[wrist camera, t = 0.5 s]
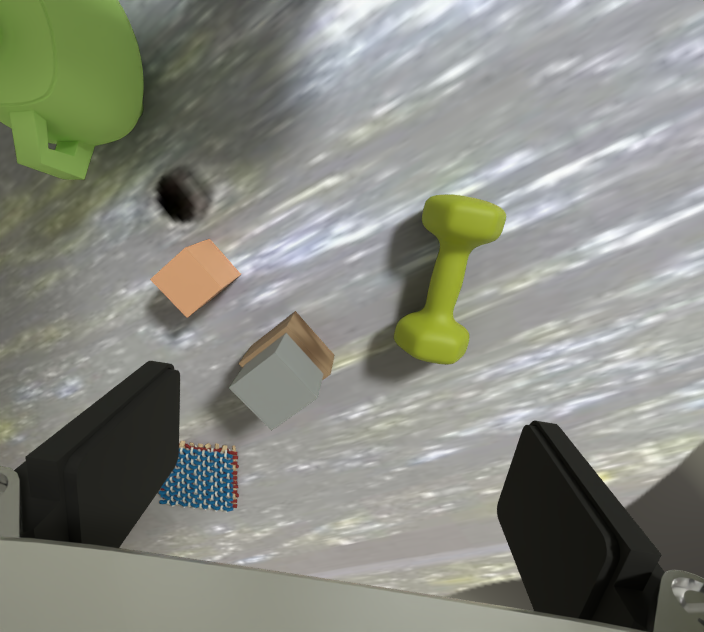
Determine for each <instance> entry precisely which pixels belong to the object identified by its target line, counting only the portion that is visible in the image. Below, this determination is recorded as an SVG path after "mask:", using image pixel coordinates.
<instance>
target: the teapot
mask: <svg viewBox="0 0 704 632" xmlns="http://www.w3.org/2000/svg"><path fill="white" fill-rule="evenodd" d="M143 85H144V82H143V68H142V61H141V56H140V52H139V47H138V44H137V41H136V38H135V34H134V32H133V29H132V27H131V24H130V22H129V20H128V18H127V16H126V14H125V12H124V10H123V8H122V6H121V5H120V3H119V1H118V0H0V122H2V123H3V124H5V125H6V126H8V127H10V128H11V129H12V133H13V139H14V146H15V152H16V158H17V163H18V164H21V165H24V166H27V167H30V168H32V169H35V170H38V171H41V172H44V173H47V174H50V175H52V176H55V177H58V178H61V179H74V180H85V176H86V173H87V170H88V167H89V163H90V160H91V157H92V154H93V151H94V147H95V146H97V145H102V144H106V143H110V142H113V141H116V140H119V139H121V138H123V137H124V136H126V135H127V134H128V133H129V132H131V131H132V129H133V128H134V126H135V125H136V123H137V121H138V118H140V116H141V115H142V113H143V104H142V101H143ZM48 143H52V144H57V145H56V148H55V150H52V149H48Z"/></svg>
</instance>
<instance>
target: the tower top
mask: <svg viewBox="0 0 704 632" xmlns="http://www.w3.org/2000/svg"><path fill="white" fill-rule="evenodd" d="M322 378H323V373H322V372H321V370H320V369H319V368H318V367H317V366H316V365H315V364H314V363H313V362H312V361H311V359H310V358H309V357H308V356H307V355H306V354H305V353H304V352H303V351H302V350H301V348H300V347H299V346H298V345H297V344H296V343H295V342H294V341H293V340H292V339H291V337H290V336H289V335H288V334H287V333H285V334H284V335H282V336H281V337H280V338H278V339H277V340H276V341H275V342H273V343H272V344H271V345H269V346H268V347H267V348H266V349H264V350H263V351H262V352H260V353H259V354H258V355H257V356H255V357H254V358H253V359H251V360H250V361H249V362H248V363H246V364H245V365H244V367H243V368H242V369H241V371H240V372H239V374H238V375H237V377H236V378H235V380H234V381H233V383H232V384H231V386H230V387H229V389H230V390H231V391H232V392H233V393H234V394H235V395H236V396H237V397H238V398H239V399H240V400H241V401H242V402H243V403H244V404H245V405H246V406H247V407H248V408H249V409H250V410H251V411H252V412H253V413H254V414H255V415H256V416H257V417H258V418H259V419H260V420H261V421H262V422H263V423H264V424H265V425H266V426H267V427H268V428H269V429H270V430H271V431H272V430H273V429H275V428H276V427H278V426H279V425H280V424H282V423H283V422H285V421H286V420H288V419H289V418H290V417H292V416H293V415H295V414H296V413H297V412H299V411H300V410H302V409H303V408H305V407H306V406H307V405H309V404H310V403H312V402H313V401H314V400H316V399H317V398H318V395H319V390H320V386H321V382H322Z"/></svg>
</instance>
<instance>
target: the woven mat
mask: <svg viewBox="0 0 704 632" xmlns="http://www.w3.org/2000/svg"><path fill="white" fill-rule="evenodd" d="M205 447H206V448H203V445H202V444H198V446H196V445H195V447H194V443H190V446H189V445H188V444H185V441H181V442H180V444H179V457H178V461H177V464H176V466H175V468H174V470H173V471H172V472H171V474H170V475H169V477H168V478H167V480H166V481H165V482H164V484H163V485H162V487H161V490H165V491H159V494H161V497H163V499H164V498H165V499H166V500H160V501H159V503H160V504H166V503H167V504H168V505H170V504H171V506H172V507H174V505H177V506H179V505H178V504H180V505H182V506H183V507H184V508H185V507H186V506H188V507H189V508H190V507H191V506H192V507H193V509H195V508H197V507H199V508H201V509H202V508H203V509H204V510H205V511H206V509H207V508H209V510H211V508H213V509H215V510H216V511H215V512H217V511H218V510H219V509H220V510H221V511H223V510H225V512H228V511H232V510H233V508H237V504H236V503H237V499H236V497H237V498H238V497H239V494H238V493H237V490H236V488H238V485H236V484H237V481H236V480H237V476H236V475H237V471H236V468H238V467H239V465H237V462H236V459H238V456H236V455H237V452H236V448H235V446H232V450H230V449H227V446H225V445H223V446H222V448H219V444H215V449H213V448H211V445H210V444H209V443H208V444H206V445H205ZM219 452H220V453H221V454H220V453H219ZM194 454H195V455H194ZM220 462H221V464H220ZM173 472H174V473H173ZM180 477H181V478H180ZM220 482H221V483H220ZM206 485H207V486H206ZM230 488H231V489H230ZM173 490H174V491H173ZM213 490H214V491H213ZM181 491H182V492H181ZM176 496H177V497H176ZM199 499H200V500H199ZM174 500H175V501H174ZM220 501H221V502H220ZM230 502H231V503H230ZM196 503H197V504H196ZM215 505H216V506H215Z"/></svg>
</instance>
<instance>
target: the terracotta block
mask: <svg viewBox="0 0 704 632" xmlns="http://www.w3.org/2000/svg"><path fill="white" fill-rule="evenodd" d="M240 275H241V274H240V273H239V271H238V270H237V269H236V268H235V267H234V266H233V265H232V264H231V262H230V261H229V260H228V259H227V258H226V257H225V256H224V255H223V253H222V252H221V251H220V250H219V249H218V248H217V247H216V246H215V244H214V243H213V242H212V241H211V240H210V239H208V240H205V241H202V242H199V243H197V244H194V245H191V246H188V247H186V248H184V249H183V250H182V251H181V252H180V253H179V254H178V255H177V256H175V257H174V258H173V259H172V260H171V261H170V262H169V263H168V264H167V265H166V266H164V267H163V268H162V269H161V270H160V271H159V272H158V273H157V274H156V275H155V276H153V277H152V278H151V279H150V280H151V281H152V282H153V283H154V284H155V285H156V286H157V287H158V288H159V289H160V290H161V291H162V292H163V293H164V294H165V295H166V296H167V298H168V299H169V300H170V301H171V302H172V303H173V304H174V305H175V306H176V307H177V308H178V309H179V310H180V311H181V312H182V313H183V314H184V315H185V316H186V317H187V318H188V317H189V316H190V315H191V314H193V313H194V312H195V311H197V310H198V309H199V308H201V307H202V306H203V305H205V304H206V303H207V302H209V301H210V300H211V299H212V298H214V297H215V296H216V295H217V294H218V293H220V292H221V291H222V290H223V289H224V288H226V287H227V286H228V285H229V284H230V283H231V282H233V281H234V280H235V279H236V278H237V277H239V276H240Z"/></svg>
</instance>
